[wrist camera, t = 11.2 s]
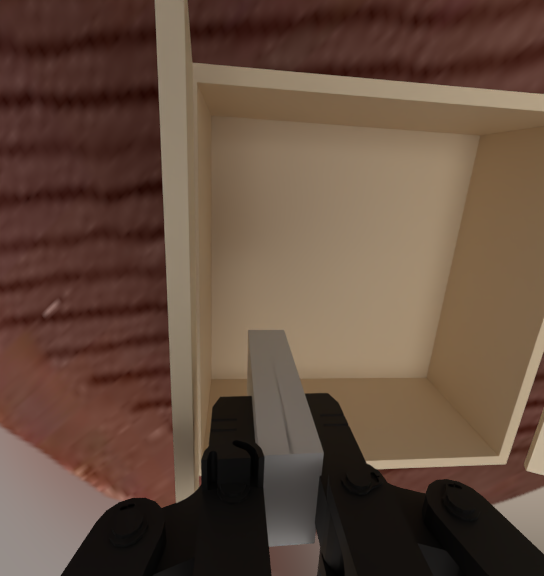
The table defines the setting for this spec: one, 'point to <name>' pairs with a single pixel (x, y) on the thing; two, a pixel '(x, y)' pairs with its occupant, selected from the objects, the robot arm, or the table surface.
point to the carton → (374, 252)
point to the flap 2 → (536, 450)
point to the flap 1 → (179, 231)
